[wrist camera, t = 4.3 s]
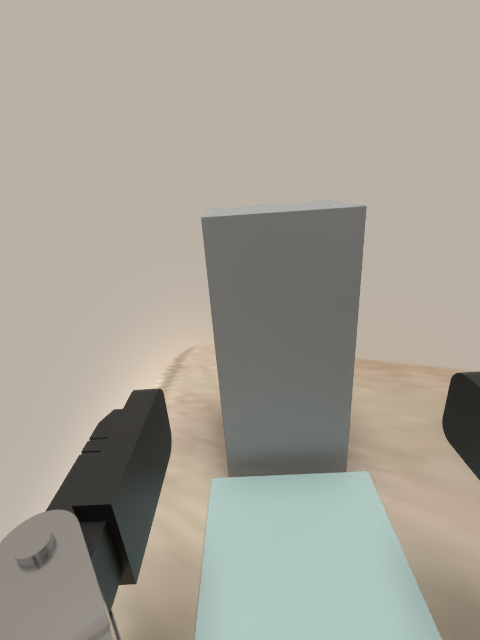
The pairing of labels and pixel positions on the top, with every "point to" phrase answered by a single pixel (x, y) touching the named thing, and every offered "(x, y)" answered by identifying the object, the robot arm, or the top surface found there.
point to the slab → (305, 563)
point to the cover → (285, 331)
